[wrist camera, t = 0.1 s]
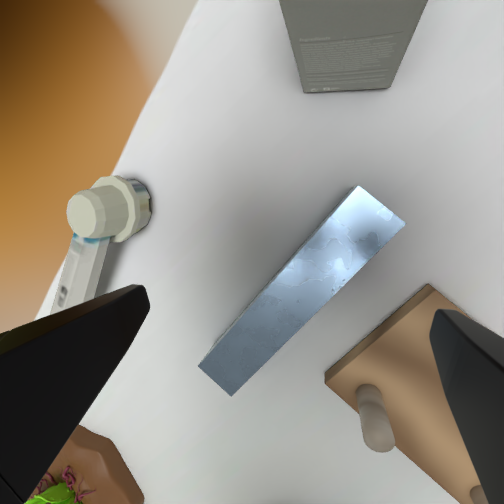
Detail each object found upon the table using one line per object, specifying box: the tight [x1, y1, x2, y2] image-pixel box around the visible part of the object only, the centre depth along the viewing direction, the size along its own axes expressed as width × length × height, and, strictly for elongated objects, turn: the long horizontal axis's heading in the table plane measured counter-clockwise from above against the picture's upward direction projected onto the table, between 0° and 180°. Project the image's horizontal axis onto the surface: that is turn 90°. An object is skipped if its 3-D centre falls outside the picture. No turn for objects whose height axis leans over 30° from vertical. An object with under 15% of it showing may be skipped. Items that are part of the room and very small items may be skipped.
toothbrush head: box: [50, 176, 152, 315], centre depth 28 cm, size 5×7×25 cm
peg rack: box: [325, 284, 488, 504], centre depth 19 cm, size 12×18×6 cm, turn 51°
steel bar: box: [198, 185, 406, 396], centre depth 22 cm, size 20×4×4 cm, turn 142°
